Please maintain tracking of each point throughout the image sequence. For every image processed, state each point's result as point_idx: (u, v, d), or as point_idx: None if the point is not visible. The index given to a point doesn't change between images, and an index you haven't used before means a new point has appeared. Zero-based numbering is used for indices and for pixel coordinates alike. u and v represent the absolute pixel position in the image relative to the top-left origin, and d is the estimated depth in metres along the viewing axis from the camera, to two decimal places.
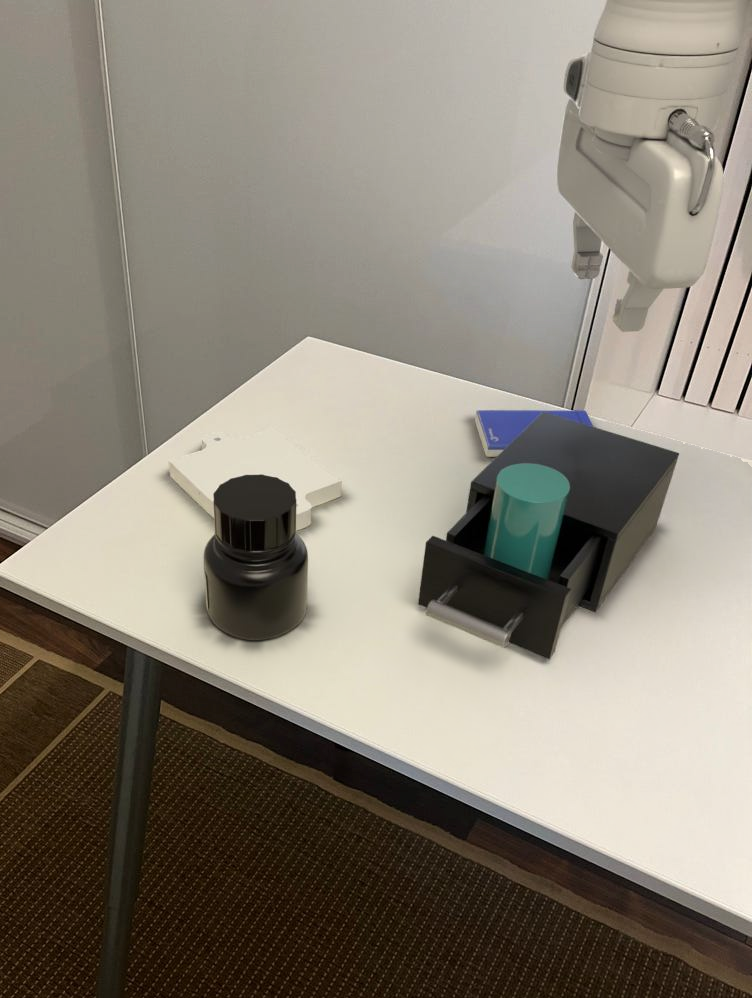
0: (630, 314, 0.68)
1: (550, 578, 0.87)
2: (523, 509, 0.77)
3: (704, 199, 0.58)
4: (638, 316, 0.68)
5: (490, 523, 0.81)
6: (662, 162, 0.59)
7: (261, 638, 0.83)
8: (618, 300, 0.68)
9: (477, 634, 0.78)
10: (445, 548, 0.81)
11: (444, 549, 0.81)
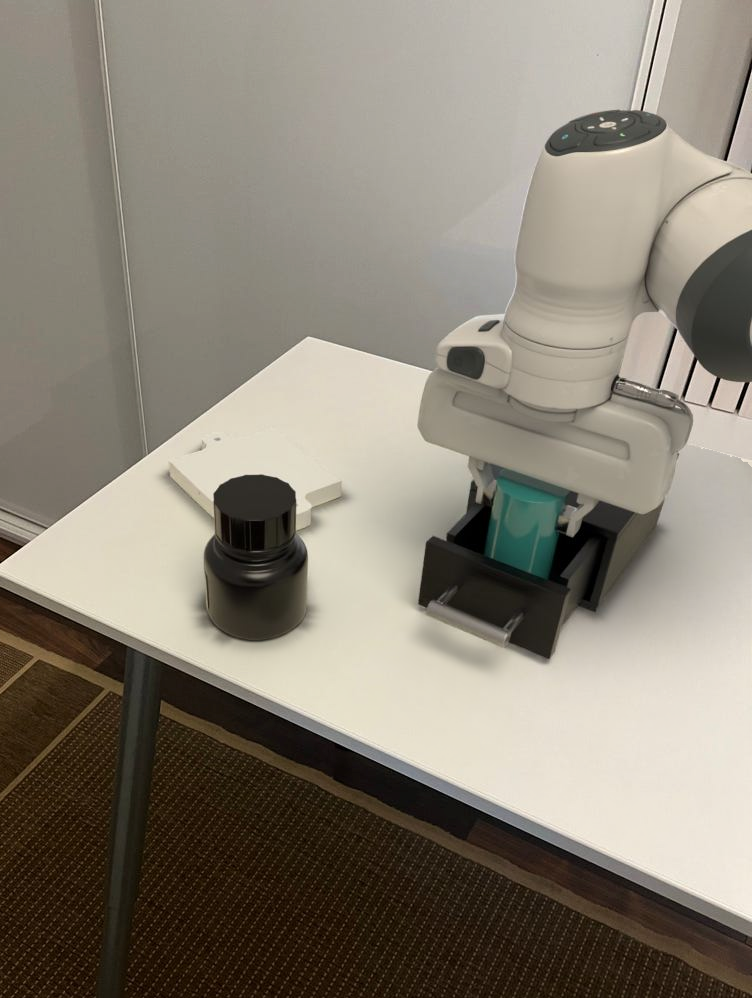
0: (577, 523, 0.78)
1: (550, 578, 0.87)
2: (524, 509, 0.77)
3: (686, 442, 0.69)
4: (579, 521, 0.78)
5: (490, 523, 0.81)
6: (642, 425, 0.69)
7: (261, 638, 0.83)
8: (561, 515, 0.78)
9: (477, 634, 0.78)
10: (445, 548, 0.81)
11: (444, 549, 0.81)
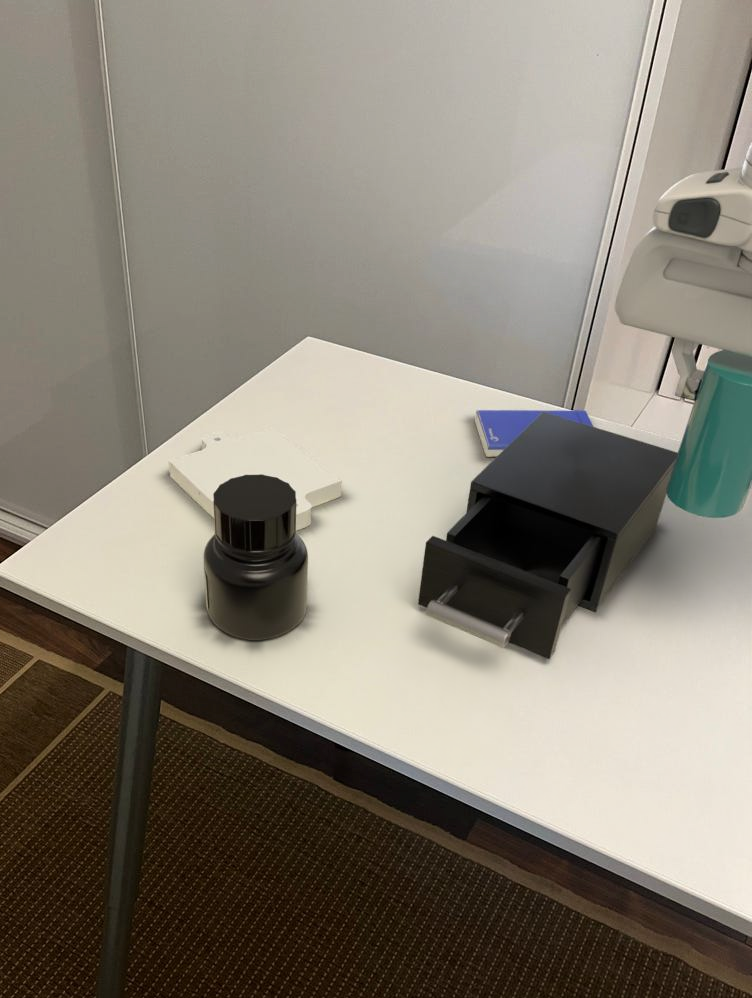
0: None
1: (550, 578, 0.87)
2: (744, 395, 0.68)
3: None
4: None
5: (694, 417, 0.72)
6: None
7: (261, 638, 0.83)
8: None
9: (477, 634, 0.78)
10: (445, 548, 0.81)
11: (444, 549, 0.81)
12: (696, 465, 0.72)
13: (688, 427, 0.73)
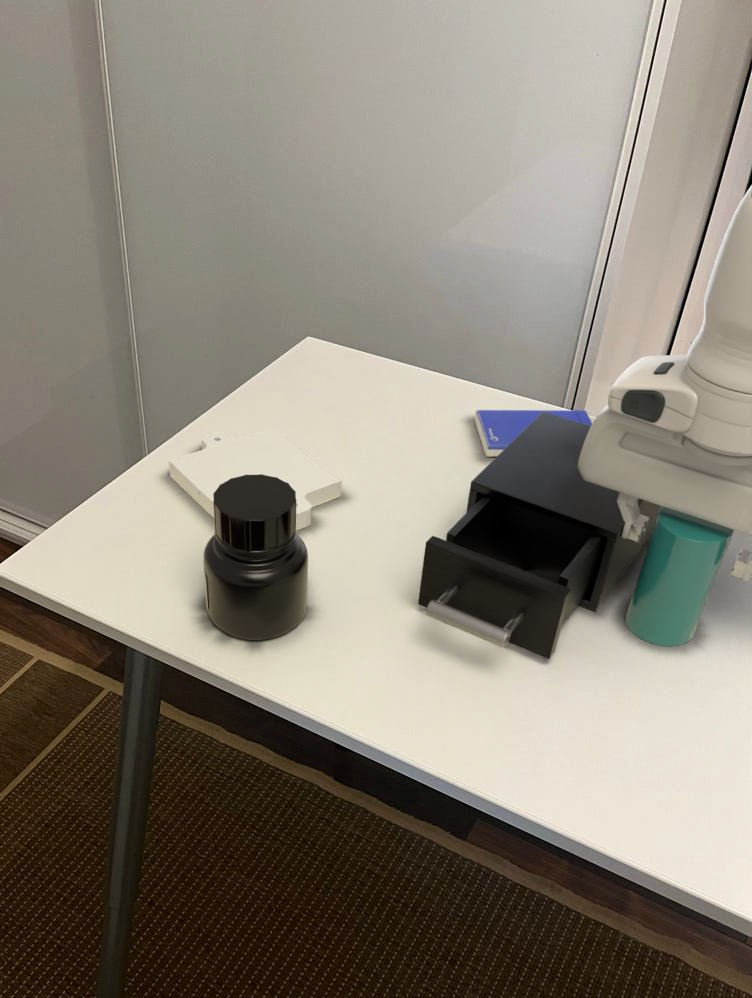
0: None
1: (550, 578, 0.87)
2: (689, 549, 0.76)
3: None
4: None
5: (647, 561, 0.80)
6: None
7: (261, 638, 0.83)
8: (738, 560, 0.77)
9: (477, 634, 0.78)
10: (445, 548, 0.81)
11: (444, 549, 0.81)
12: (650, 602, 0.81)
13: (643, 568, 0.81)
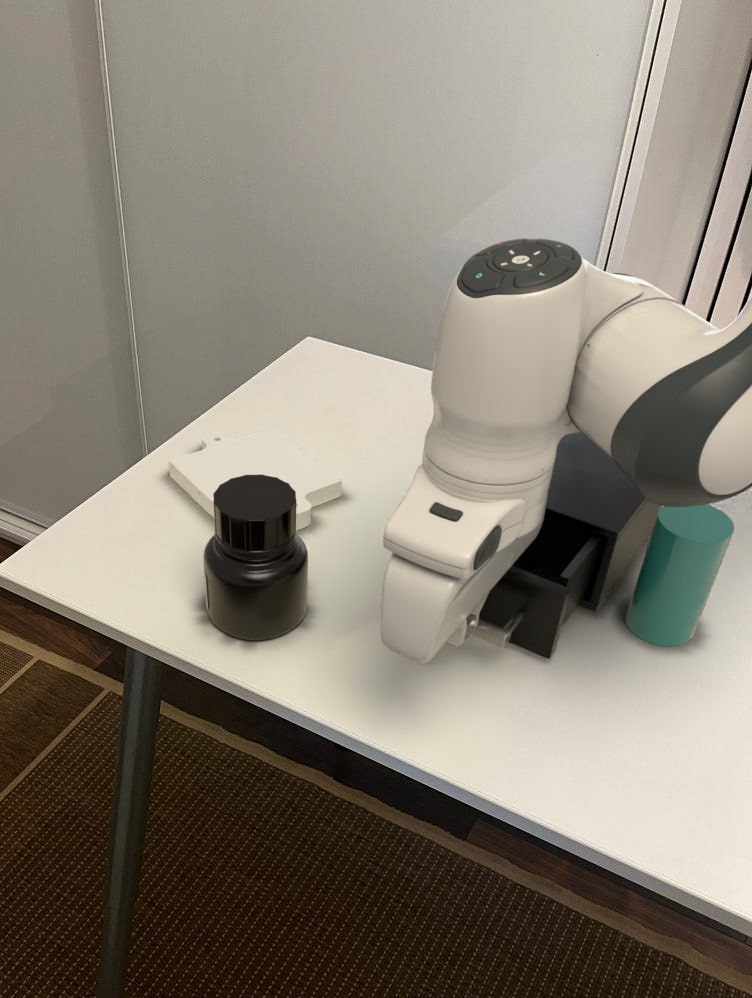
0: None
1: (550, 578, 0.87)
2: (689, 549, 0.76)
3: None
4: None
5: (647, 561, 0.80)
6: None
7: (261, 638, 0.83)
8: (471, 620, 0.76)
9: (477, 634, 0.78)
10: None
11: None
12: (650, 602, 0.81)
13: (643, 568, 0.81)
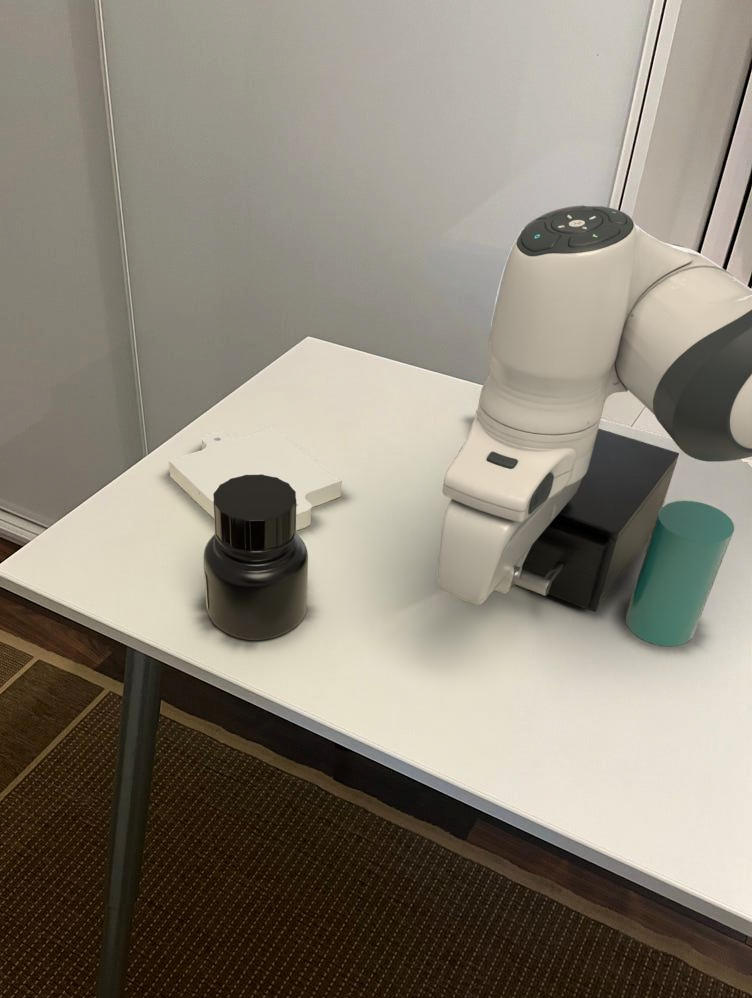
0: None
1: None
2: (689, 549, 0.76)
3: None
4: None
5: (647, 561, 0.80)
6: None
7: (261, 638, 0.83)
8: (515, 571, 0.81)
9: (519, 583, 0.83)
10: None
11: None
12: (650, 602, 0.81)
13: (643, 568, 0.81)
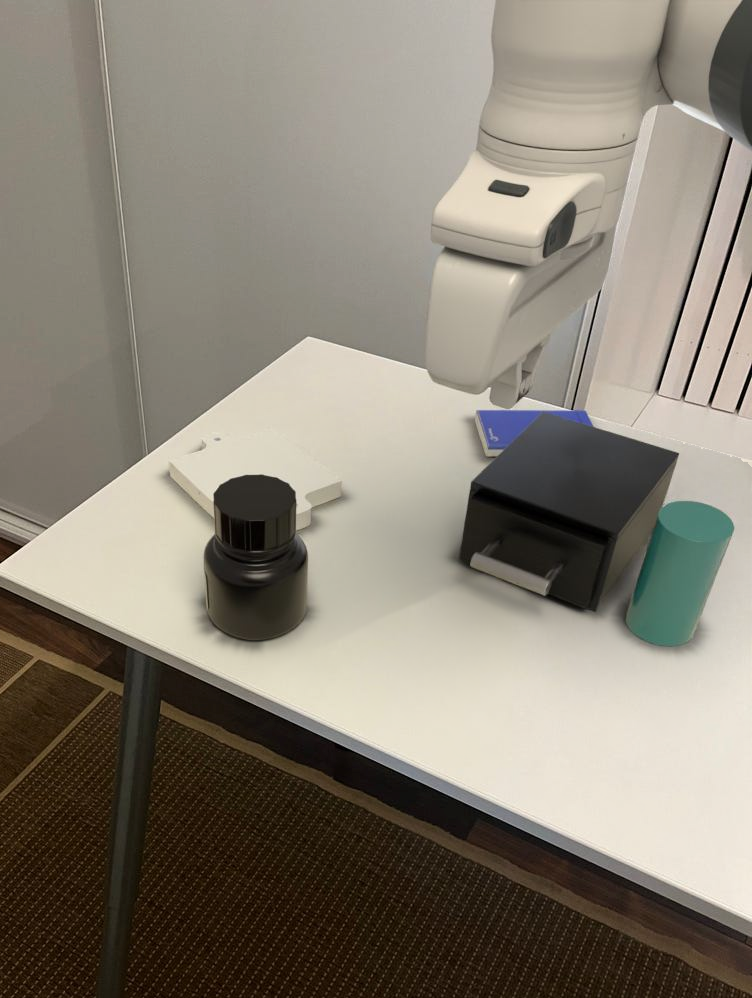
0: None
1: None
2: (689, 549, 0.76)
3: None
4: None
5: (647, 561, 0.80)
6: None
7: (261, 638, 0.83)
8: (526, 377, 0.64)
9: (519, 583, 0.83)
10: (488, 504, 0.85)
11: (487, 505, 0.85)
12: (650, 602, 0.81)
13: (643, 568, 0.81)
